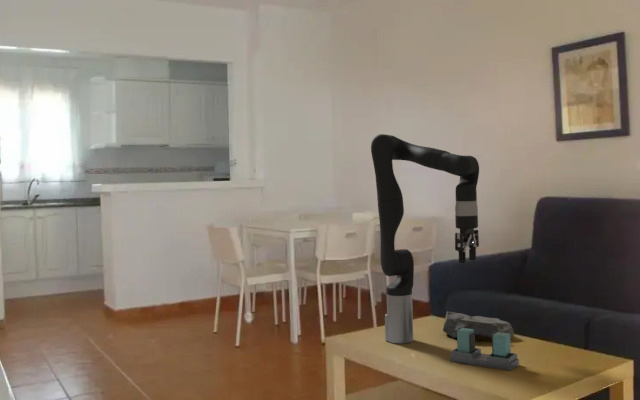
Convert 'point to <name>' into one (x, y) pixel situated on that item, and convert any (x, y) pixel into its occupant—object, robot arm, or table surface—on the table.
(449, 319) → the stone
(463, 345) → the block
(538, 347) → the table surface
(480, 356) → the grey block holder
